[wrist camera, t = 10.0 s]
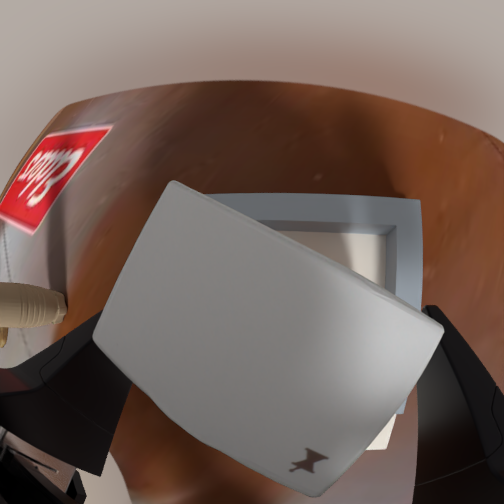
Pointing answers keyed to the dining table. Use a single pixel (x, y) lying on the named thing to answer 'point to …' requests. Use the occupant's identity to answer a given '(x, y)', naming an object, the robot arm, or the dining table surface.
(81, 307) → the dining table surface
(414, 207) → the stop cradle
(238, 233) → the skincare box
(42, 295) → the handle
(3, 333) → the chocolate bunny
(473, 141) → the dining table surface
